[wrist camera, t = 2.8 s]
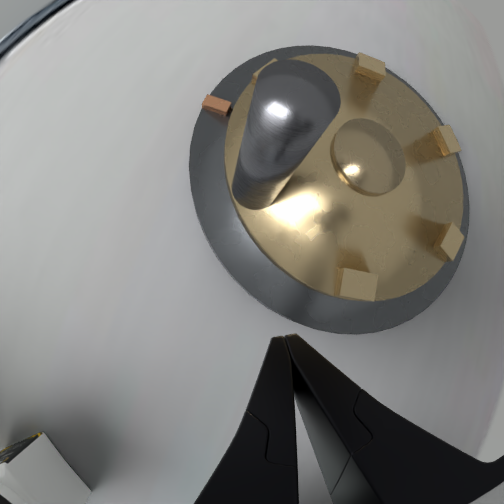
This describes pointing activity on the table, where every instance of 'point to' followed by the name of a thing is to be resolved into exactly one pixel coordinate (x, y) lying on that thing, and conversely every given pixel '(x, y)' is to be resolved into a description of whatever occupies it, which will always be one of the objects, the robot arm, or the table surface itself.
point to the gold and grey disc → (248, 254)
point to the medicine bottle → (38, 475)
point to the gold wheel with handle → (344, 177)
